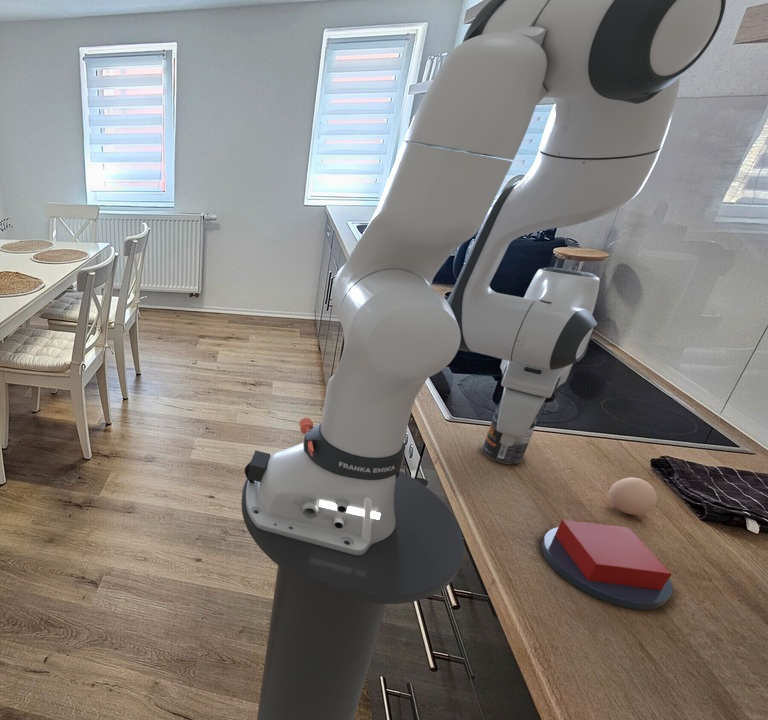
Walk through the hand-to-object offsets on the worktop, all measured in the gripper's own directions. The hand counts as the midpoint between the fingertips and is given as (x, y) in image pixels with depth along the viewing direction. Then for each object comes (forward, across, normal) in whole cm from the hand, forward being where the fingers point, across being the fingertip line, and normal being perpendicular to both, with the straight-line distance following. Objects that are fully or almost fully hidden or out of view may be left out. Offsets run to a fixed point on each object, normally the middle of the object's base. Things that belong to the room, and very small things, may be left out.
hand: (509, 434), depth 88 cm
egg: (+5, +4, +16) cm, 18 cm away
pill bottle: (+5, 0, 0) cm, 5 cm away
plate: (+5, +21, +14) cm, 26 cm away
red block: (+4, +21, +14) cm, 25 cm away
